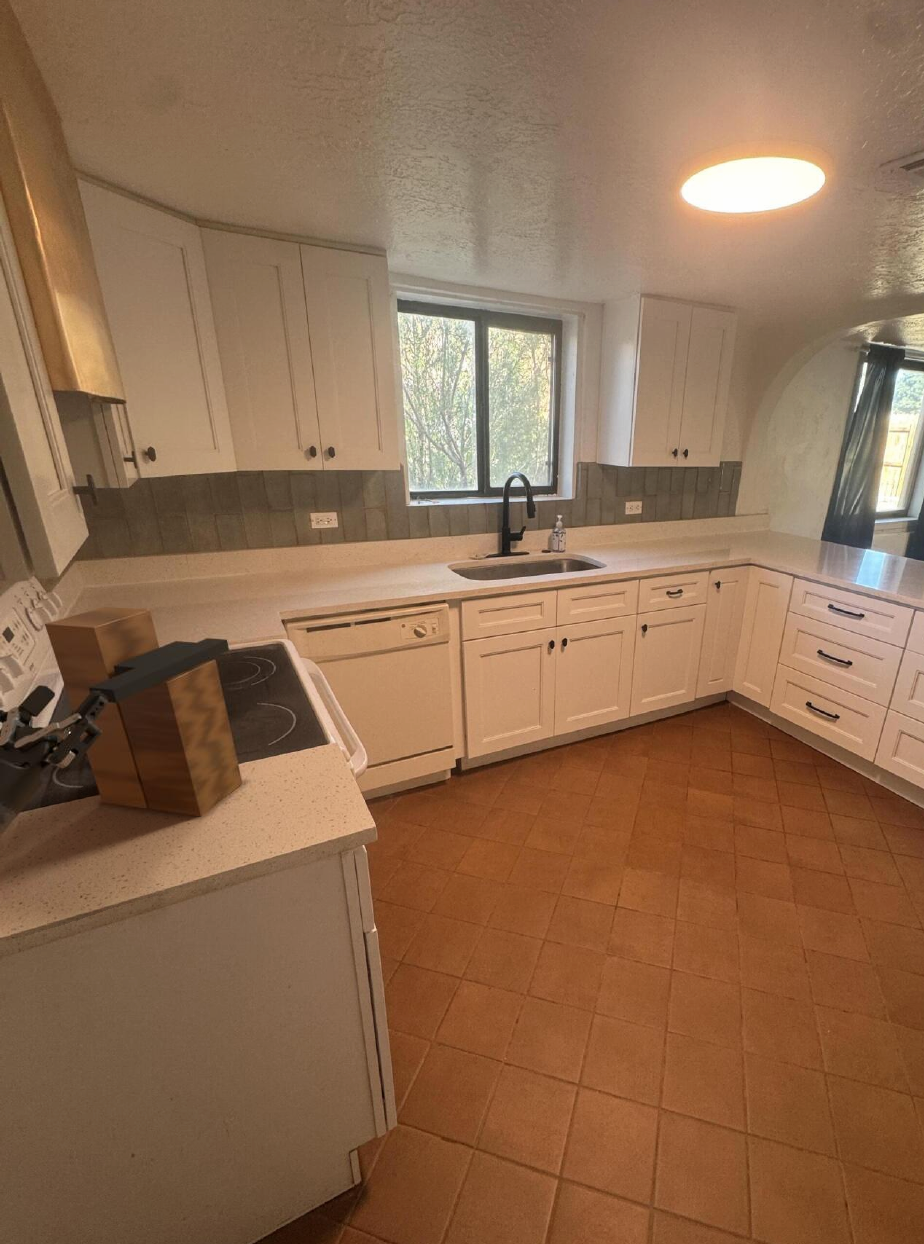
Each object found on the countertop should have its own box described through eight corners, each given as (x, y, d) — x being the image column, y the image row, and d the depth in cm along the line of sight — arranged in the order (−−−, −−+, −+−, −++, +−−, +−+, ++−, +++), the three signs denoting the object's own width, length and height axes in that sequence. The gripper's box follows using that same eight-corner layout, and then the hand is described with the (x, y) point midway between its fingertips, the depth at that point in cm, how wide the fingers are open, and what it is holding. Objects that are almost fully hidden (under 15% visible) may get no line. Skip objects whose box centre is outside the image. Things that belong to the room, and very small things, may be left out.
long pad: (116, 703, 79) (112, 689, 78) (92, 700, 79) (88, 687, 79) (229, 650, 99) (227, 639, 98) (209, 648, 99) (207, 637, 99)
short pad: (138, 680, 86) (135, 667, 86) (116, 678, 87) (112, 665, 86) (198, 653, 97) (196, 642, 97) (178, 651, 98) (175, 640, 97)
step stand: (201, 816, 94) (153, 631, 83) (102, 802, 97) (44, 624, 86) (242, 783, 103) (205, 613, 92) (151, 771, 107) (104, 606, 95)
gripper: (0, 797, 61) (99, 678, 71) (-103, 783, 63) (7, 669, 73) (53, 826, 66) (138, 712, 76) (-43, 812, 69) (52, 703, 79)
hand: (74, 691), depth 75 cm, fingers open, 8 cm apart
